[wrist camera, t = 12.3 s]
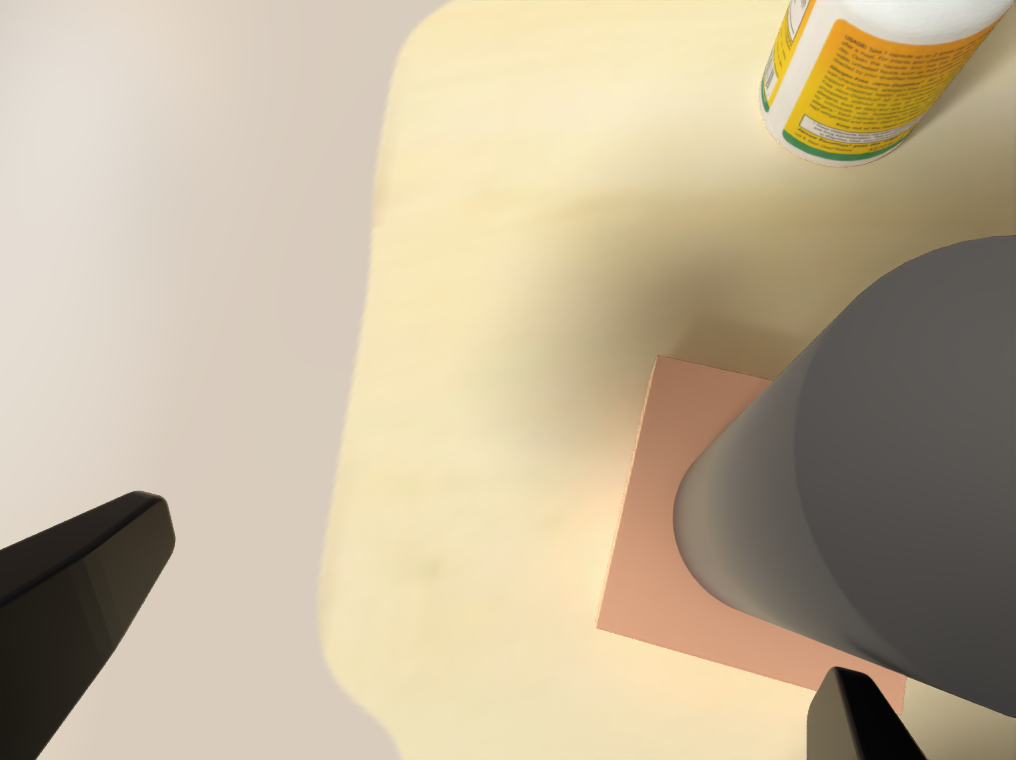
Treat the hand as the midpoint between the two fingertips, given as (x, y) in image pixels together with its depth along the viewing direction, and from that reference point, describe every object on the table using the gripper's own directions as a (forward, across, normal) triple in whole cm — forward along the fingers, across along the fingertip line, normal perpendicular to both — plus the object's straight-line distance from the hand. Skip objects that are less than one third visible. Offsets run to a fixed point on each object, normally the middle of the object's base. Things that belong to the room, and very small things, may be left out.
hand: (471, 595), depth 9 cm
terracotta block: (+12, -6, +8) cm, 16 cm away
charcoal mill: (+10, -6, +6) cm, 13 cm away
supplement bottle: (+22, -7, -3) cm, 24 cm away
